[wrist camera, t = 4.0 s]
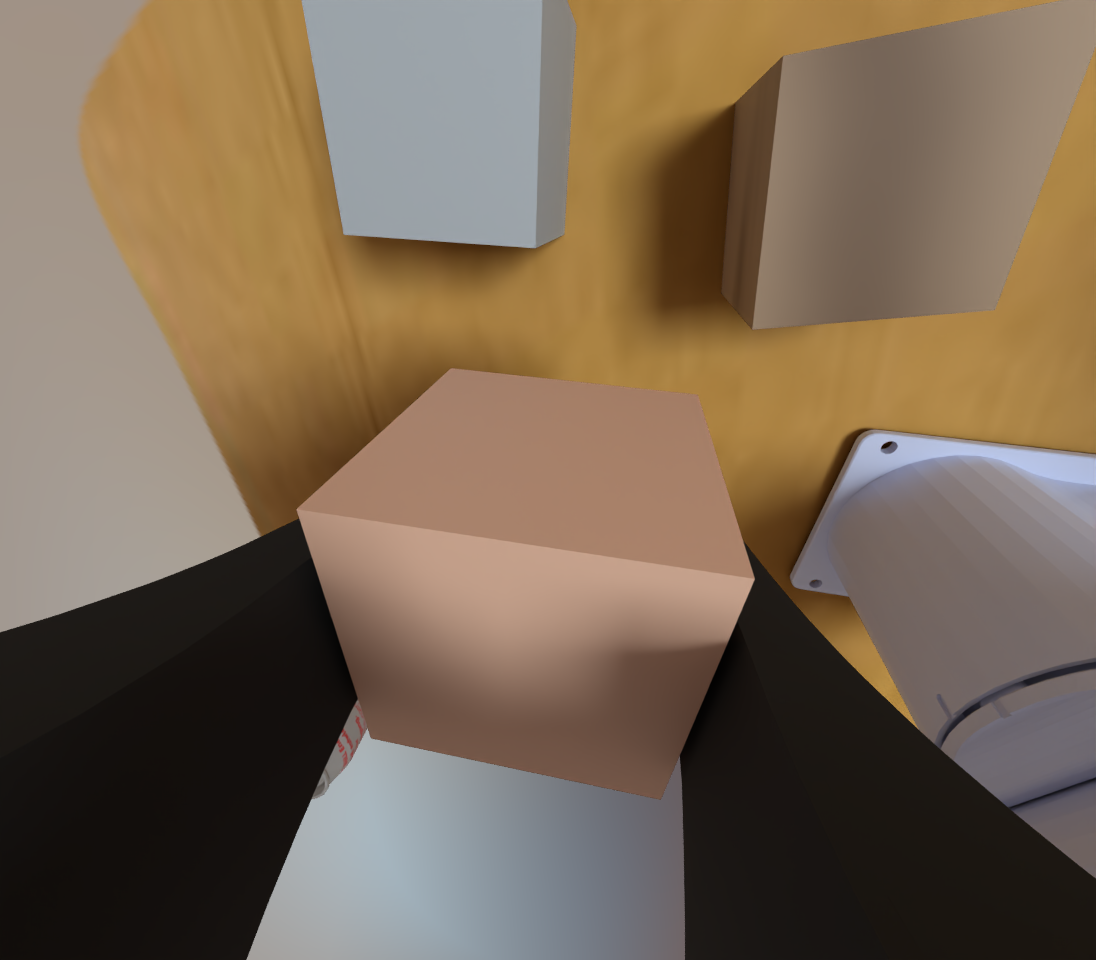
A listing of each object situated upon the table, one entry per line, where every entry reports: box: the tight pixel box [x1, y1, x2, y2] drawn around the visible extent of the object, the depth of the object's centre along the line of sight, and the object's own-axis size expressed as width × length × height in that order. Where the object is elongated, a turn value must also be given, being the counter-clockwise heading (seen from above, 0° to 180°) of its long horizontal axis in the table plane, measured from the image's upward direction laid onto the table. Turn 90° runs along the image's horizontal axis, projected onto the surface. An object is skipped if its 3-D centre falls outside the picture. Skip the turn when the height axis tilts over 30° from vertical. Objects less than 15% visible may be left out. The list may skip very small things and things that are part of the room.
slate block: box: [302, 0, 576, 248], centre depth 12 cm, size 5×5×5 cm
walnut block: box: [721, 0, 1096, 330], centre depth 11 cm, size 5×5×5 cm
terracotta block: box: [296, 368, 755, 800], centre depth 8 cm, size 5×5×5 cm
